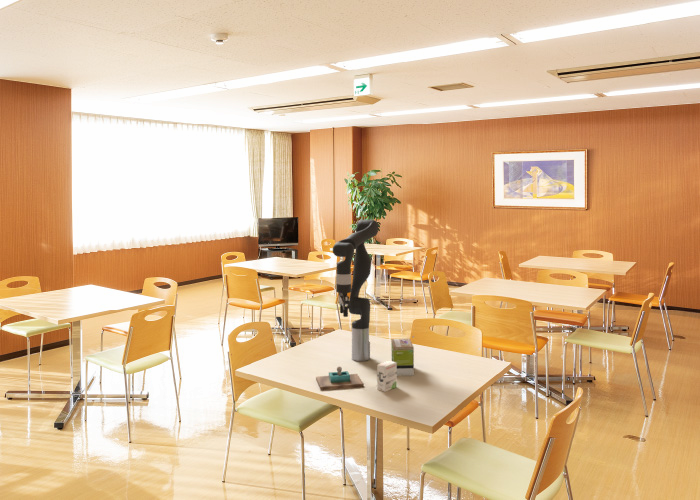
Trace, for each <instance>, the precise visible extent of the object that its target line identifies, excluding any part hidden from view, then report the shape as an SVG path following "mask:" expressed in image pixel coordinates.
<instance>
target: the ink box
mask: <svg viewBox="0 0 700 500" xmlns="http://www.w3.org/2000/svg"><path fill="white" fill-rule="evenodd" d="M376 367H377V369H376V370H377V371H376V373H377V374H376V376H377V378H376V382H377V385H376V386H377V387H376V389H377V390H379V391H382V392H388V391H390V390H392V389H395V388H397V378H398V377H397V363H396V362H393V361H392V360H386V361H384V362H381V363H378V364H377V365H376Z"/></svg>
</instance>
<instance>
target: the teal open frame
mask: <svg viewBox="0 0 700 500" xmlns="http://www.w3.org/2000/svg"><path fill="white" fill-rule="evenodd" d="M349 374H350V372H349V371H347V370H346V371H343V370H342V371H341V375H337V371H332V372H330V371H329V372H328V376H329V380H330V382H331V383H338V382H350V375H349Z"/></svg>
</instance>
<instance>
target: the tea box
mask: <svg viewBox="0 0 700 500" xmlns="http://www.w3.org/2000/svg"><path fill="white" fill-rule="evenodd" d="M390 345H391V348H390V349H391V361H393V362H396V363H397V376H399V377H401V375H404V376H414V373H415V369H414V365H415V363H414V361H415V359H414V358H415V357H414V352H415V350H414V349H415V348H414V345H413V343H412V341H411V338H391V344H390Z"/></svg>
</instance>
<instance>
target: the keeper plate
mask: <svg viewBox="0 0 700 500" xmlns="http://www.w3.org/2000/svg"><path fill="white" fill-rule="evenodd" d="M336 372H337V375H341V372H343V368H342V366H337V367H336ZM349 375H350V382H338V383H331V382H330V380H329V375H324V376H323V375H322V376H316V377H315V381H316V383H317V385H318V387H319V389H320V391H324V390H325V391H326V390H327V391H328V390H340V389H352V388H353V389H354V388H362V387H363V388H364V384H365V383H364V382H363V381H362V379H361V377H360V376H359V375H358V373H351V374H350V373H349Z"/></svg>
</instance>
